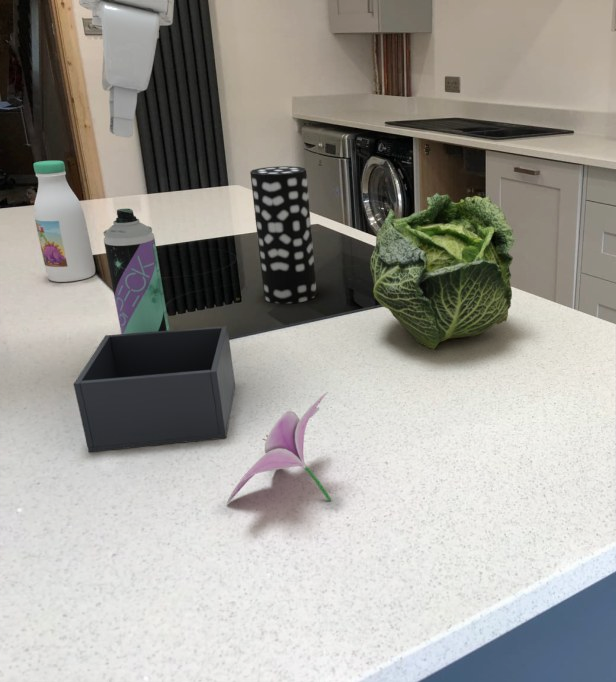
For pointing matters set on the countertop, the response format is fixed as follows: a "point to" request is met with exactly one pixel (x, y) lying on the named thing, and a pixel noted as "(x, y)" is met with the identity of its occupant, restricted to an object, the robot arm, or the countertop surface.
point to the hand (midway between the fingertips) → (120, 135)
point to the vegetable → (445, 268)
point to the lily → (284, 447)
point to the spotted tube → (284, 233)
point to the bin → (157, 388)
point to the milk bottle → (61, 226)
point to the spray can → (135, 275)
